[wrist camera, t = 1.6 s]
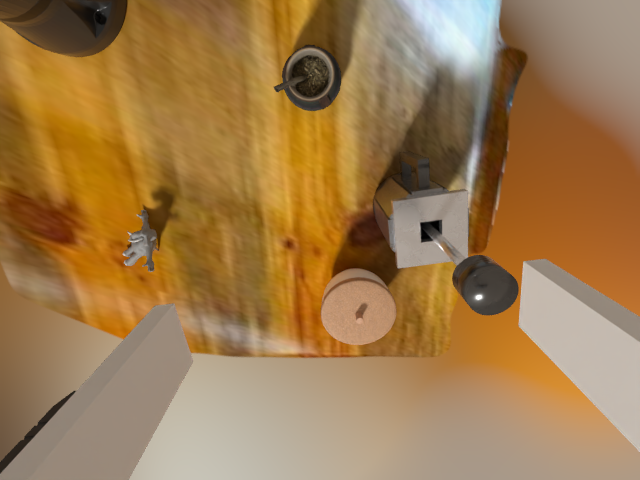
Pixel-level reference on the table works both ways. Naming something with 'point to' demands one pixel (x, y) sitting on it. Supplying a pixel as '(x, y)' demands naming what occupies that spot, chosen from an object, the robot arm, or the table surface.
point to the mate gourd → (311, 78)
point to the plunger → (476, 276)
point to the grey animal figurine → (142, 244)
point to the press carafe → (420, 213)
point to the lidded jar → (357, 307)
